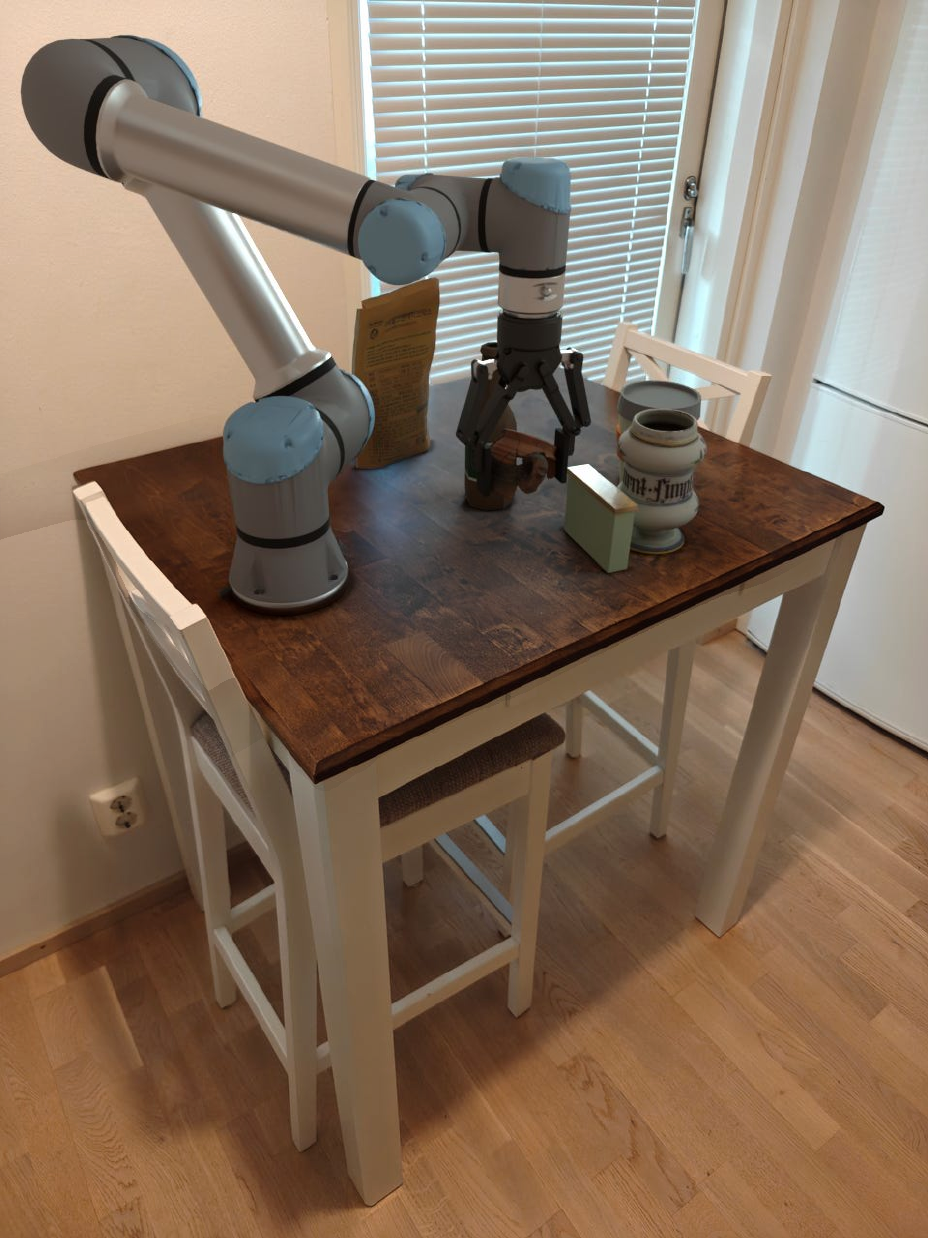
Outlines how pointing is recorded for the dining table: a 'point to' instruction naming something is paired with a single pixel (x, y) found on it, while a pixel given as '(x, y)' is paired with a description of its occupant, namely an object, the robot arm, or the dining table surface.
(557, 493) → the dining table surface
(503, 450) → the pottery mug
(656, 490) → the apothecary jar
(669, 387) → the grey lidded canister
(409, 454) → the pancake mix bag
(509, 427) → the beer bottle
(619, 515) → the back wall
